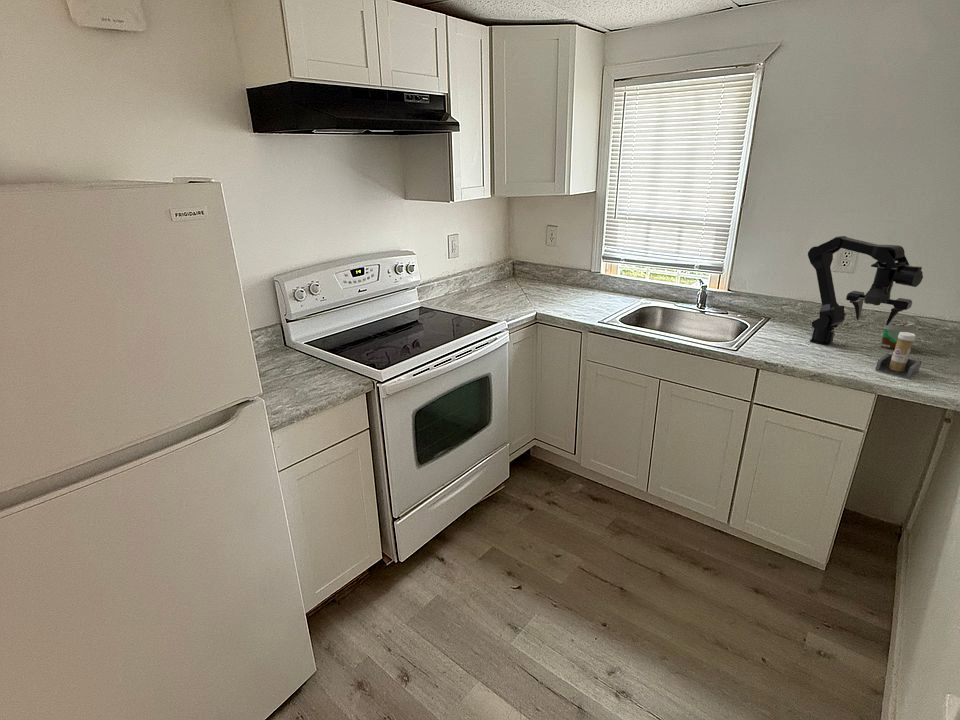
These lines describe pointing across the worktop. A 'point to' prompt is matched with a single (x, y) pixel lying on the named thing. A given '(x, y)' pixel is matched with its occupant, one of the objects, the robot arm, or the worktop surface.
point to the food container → (895, 333)
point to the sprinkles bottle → (902, 351)
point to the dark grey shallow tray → (908, 373)
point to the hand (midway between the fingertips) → (872, 322)
